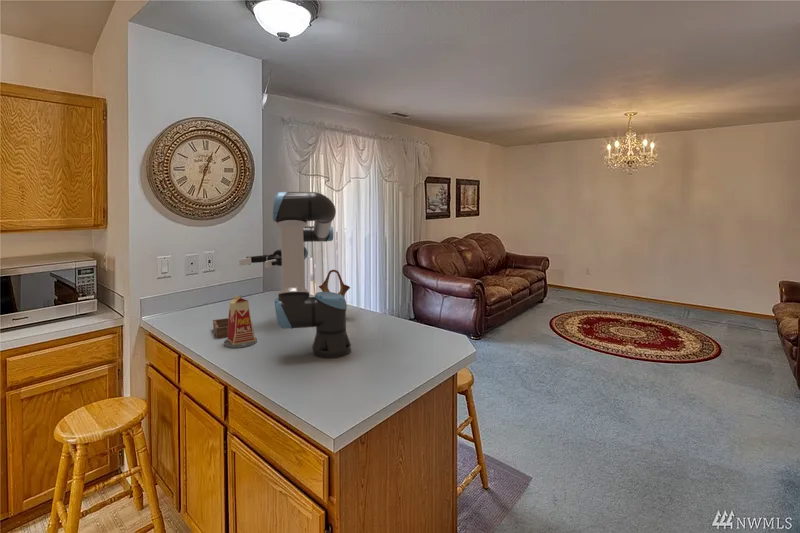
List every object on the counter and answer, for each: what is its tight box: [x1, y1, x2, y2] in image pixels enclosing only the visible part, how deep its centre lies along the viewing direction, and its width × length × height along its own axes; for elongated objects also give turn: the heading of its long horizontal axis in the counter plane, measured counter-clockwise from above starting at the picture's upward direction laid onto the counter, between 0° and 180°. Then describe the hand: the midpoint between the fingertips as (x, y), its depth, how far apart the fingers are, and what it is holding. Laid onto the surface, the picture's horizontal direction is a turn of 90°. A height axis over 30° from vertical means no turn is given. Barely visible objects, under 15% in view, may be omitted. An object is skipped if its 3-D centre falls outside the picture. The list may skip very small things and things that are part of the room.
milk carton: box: [227, 294, 256, 345], centre depth 173 cm, size 9×9×20 cm
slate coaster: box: [223, 336, 258, 349], centre depth 175 cm, size 13×13×1 cm
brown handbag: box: [318, 269, 351, 310], centre depth 207 cm, size 16×9×25 cm, turn 76°
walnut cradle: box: [212, 317, 229, 339], centre depth 188 cm, size 14×14×4 cm
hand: (252, 263), depth 178 cm, fingers open, 13 cm apart
